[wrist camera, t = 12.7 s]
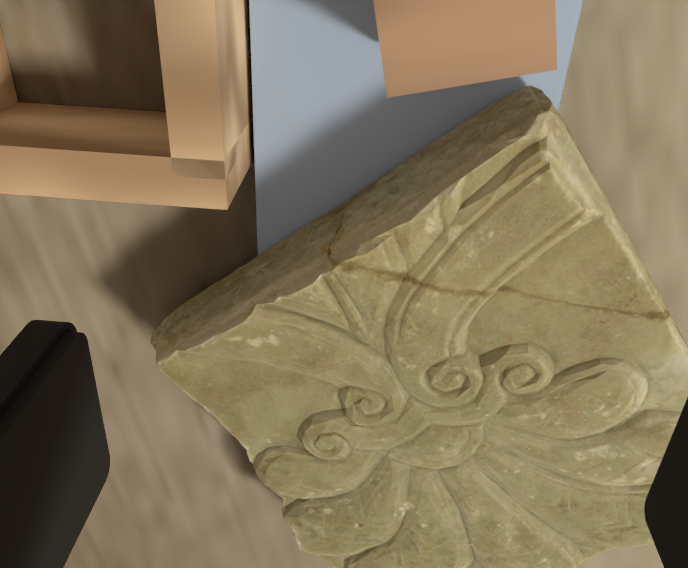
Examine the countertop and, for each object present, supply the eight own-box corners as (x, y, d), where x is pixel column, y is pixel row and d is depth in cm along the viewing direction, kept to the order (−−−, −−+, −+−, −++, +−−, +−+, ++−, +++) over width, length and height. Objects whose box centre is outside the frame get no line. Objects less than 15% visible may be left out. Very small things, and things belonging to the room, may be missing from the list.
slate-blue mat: (514, 287, 25) (516, 295, 25) (261, 267, 26) (258, 276, 25) (608, -139, 18) (613, -139, 17) (248, -157, 18) (243, -157, 18)
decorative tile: (554, 104, 17) (810, 572, 23) (535, 58, 22) (749, 453, 29) (90, 372, 25) (380, 669, 31) (156, 292, 30) (394, 561, 36)
